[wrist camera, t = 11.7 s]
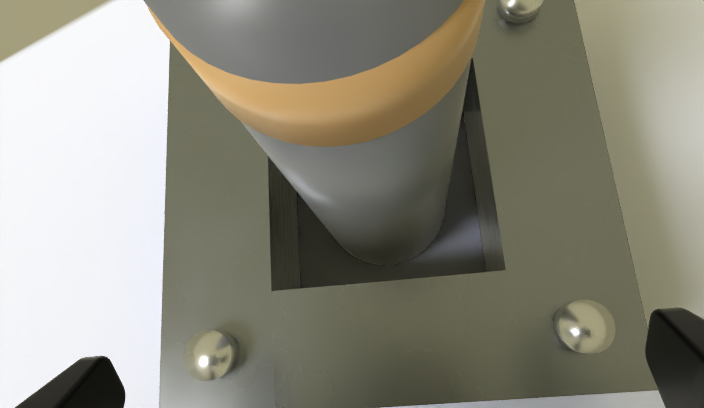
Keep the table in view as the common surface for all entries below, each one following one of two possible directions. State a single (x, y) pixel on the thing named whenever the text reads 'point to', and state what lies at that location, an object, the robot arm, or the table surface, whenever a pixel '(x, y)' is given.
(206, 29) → the plug
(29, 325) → the table surface
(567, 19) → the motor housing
